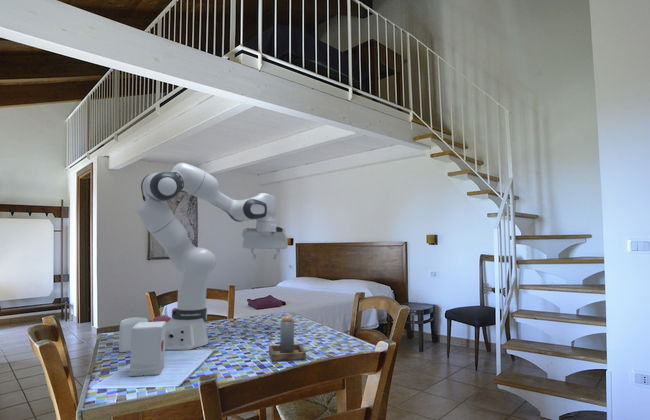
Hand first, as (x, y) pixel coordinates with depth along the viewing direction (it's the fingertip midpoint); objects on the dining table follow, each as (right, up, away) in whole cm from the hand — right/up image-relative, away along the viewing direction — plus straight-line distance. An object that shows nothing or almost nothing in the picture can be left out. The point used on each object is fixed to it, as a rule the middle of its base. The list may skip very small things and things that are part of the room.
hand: (264, 258), depth 183 cm
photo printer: (-45, -31, -31) cm, 63 cm away
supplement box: (-30, -30, -54) cm, 68 cm away
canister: (+13, -31, -36) cm, 49 cm away
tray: (+13, -31, -36) cm, 49 cm away
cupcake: (-47, -33, +1) cm, 58 cm away
